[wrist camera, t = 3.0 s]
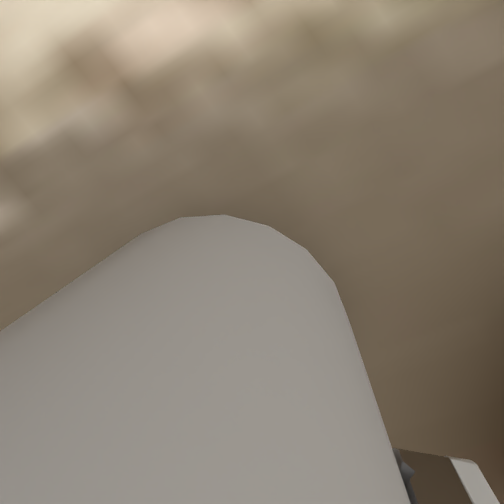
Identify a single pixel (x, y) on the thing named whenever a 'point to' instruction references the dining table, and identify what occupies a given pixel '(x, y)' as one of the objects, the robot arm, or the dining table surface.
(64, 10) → the dining table surface
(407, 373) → the dining table surface
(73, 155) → the dining table surface
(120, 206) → the dining table surface
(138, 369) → the can
